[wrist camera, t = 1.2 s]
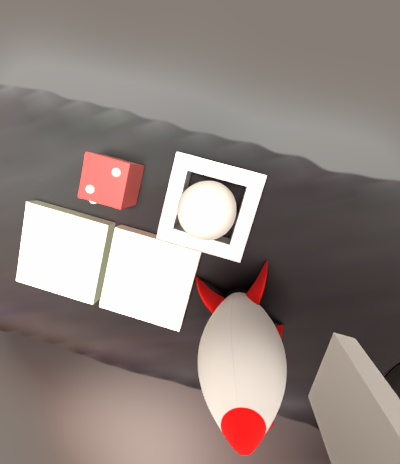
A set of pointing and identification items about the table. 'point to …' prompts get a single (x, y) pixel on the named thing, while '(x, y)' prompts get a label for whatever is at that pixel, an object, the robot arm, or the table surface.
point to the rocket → (241, 364)
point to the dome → (207, 210)
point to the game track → (95, 262)
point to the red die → (110, 180)
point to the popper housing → (252, 180)
